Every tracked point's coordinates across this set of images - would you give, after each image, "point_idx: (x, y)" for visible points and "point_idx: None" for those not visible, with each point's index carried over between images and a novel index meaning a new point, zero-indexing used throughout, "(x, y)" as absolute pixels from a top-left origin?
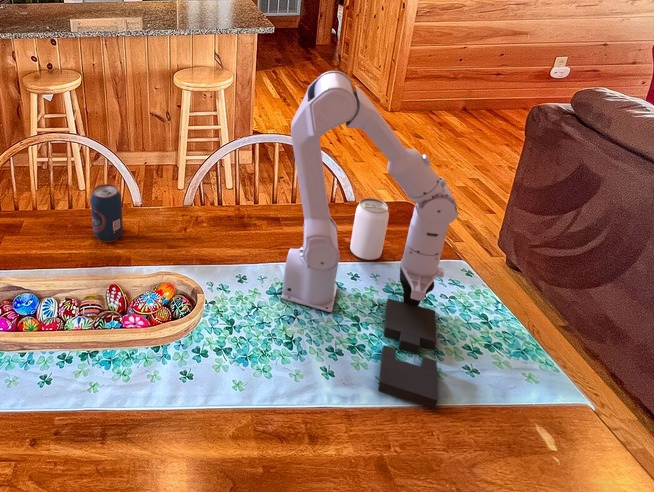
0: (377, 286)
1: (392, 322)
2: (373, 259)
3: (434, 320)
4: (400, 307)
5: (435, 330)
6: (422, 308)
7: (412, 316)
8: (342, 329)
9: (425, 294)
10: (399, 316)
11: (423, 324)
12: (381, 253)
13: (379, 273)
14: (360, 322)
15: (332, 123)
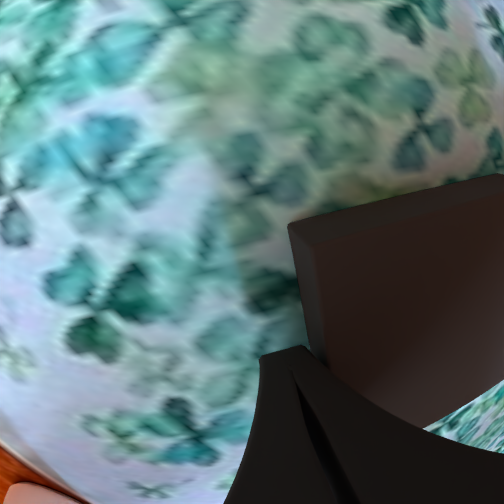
0: (205, 477)
1: (486, 376)
2: (68, 497)
3: (425, 222)
4: (389, 409)
5: (493, 198)
6: (341, 327)
7: (436, 340)
8: (472, 427)
9: (437, 435)
10: (453, 380)
11: (475, 270)
12: (27, 491)
13: (117, 483)
14: (440, 423)
15: None
